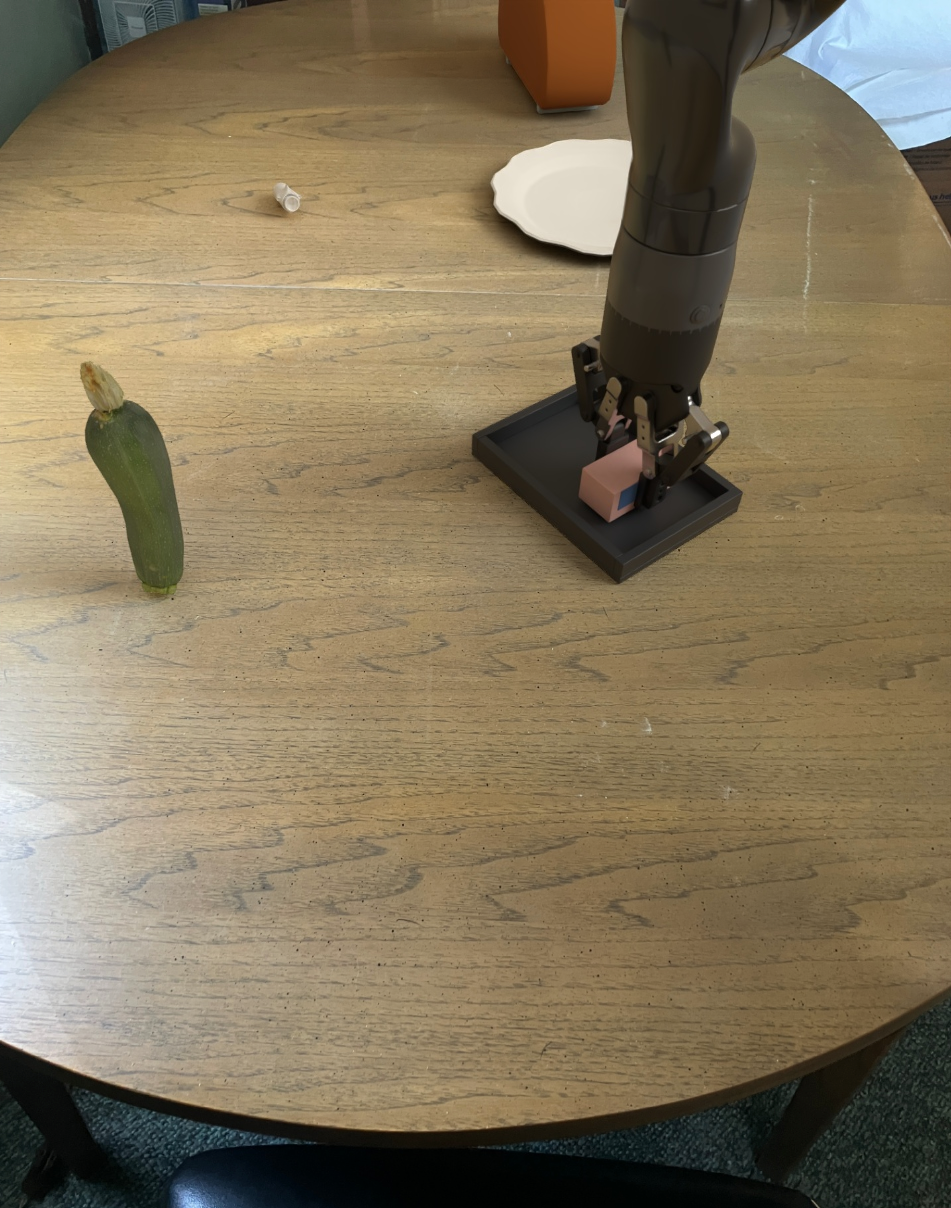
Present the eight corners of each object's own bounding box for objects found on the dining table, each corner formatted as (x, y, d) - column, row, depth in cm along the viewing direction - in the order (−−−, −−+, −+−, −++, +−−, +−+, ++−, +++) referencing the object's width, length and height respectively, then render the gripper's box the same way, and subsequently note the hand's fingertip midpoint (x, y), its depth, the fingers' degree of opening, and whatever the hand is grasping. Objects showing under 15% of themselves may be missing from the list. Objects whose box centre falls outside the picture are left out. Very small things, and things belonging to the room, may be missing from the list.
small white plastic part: (309, 195, 104) (305, 166, 102) (300, 222, 100) (296, 194, 98) (276, 193, 104) (272, 165, 102) (266, 221, 100) (262, 192, 98)
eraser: (675, 485, 74) (682, 456, 72) (609, 523, 71) (614, 494, 69) (643, 460, 76) (649, 431, 73) (577, 496, 73) (581, 467, 71)
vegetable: (166, 557, 69) (86, 320, 54) (218, 574, 68) (151, 338, 53) (131, 600, 67) (36, 363, 51) (184, 618, 66) (104, 383, 50)
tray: (737, 511, 74) (743, 491, 72) (619, 584, 69) (623, 565, 67) (586, 396, 82) (588, 376, 81) (471, 454, 77) (471, 434, 76)
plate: (584, 296, 92) (587, 279, 91) (447, 188, 105) (447, 172, 104) (769, 227, 101) (774, 210, 100) (622, 136, 115) (624, 120, 113)
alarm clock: (611, 121, 117) (631, -36, 104) (541, 126, 116) (553, -31, 103) (557, 47, 132) (569, -98, 119) (495, 52, 130) (500, -95, 118)
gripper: (792, 324, 58) (727, 521, 71) (632, 226, 65) (601, 422, 78) (707, 369, 55) (656, 566, 68) (549, 261, 62) (531, 459, 75)
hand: (627, 488), depth 73 cm, fingers closed on eraser, 3 cm apart
